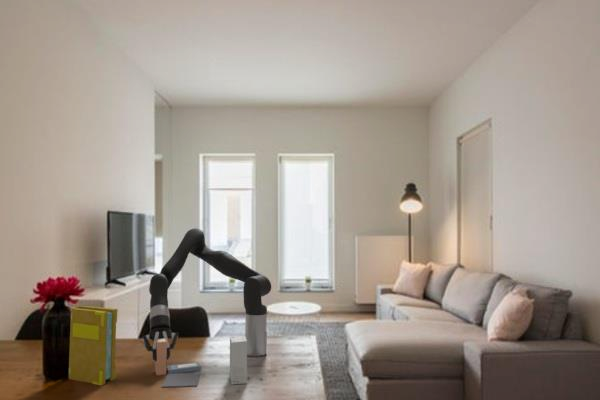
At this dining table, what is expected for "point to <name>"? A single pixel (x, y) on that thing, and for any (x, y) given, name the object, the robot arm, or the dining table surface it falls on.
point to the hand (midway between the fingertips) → (161, 359)
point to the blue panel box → (183, 368)
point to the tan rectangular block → (161, 356)
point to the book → (92, 344)
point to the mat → (181, 380)
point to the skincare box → (238, 360)
